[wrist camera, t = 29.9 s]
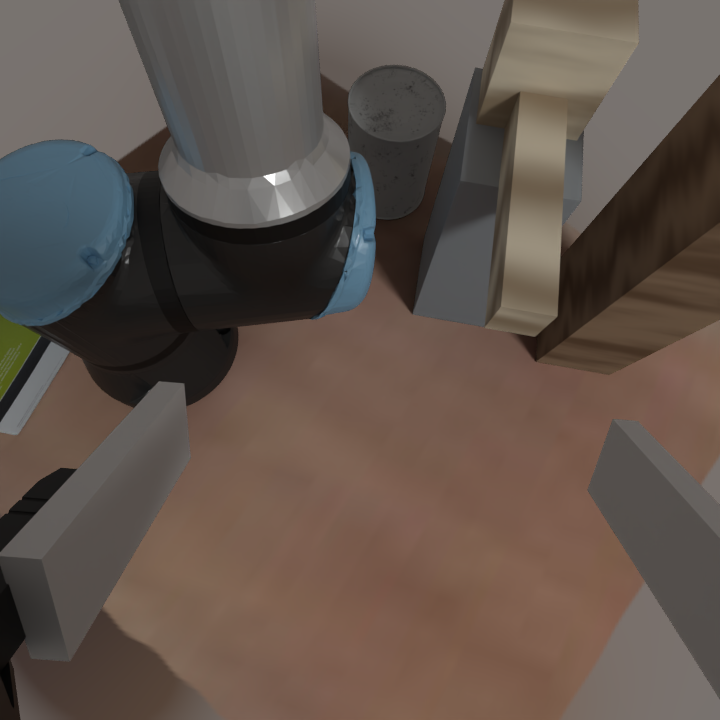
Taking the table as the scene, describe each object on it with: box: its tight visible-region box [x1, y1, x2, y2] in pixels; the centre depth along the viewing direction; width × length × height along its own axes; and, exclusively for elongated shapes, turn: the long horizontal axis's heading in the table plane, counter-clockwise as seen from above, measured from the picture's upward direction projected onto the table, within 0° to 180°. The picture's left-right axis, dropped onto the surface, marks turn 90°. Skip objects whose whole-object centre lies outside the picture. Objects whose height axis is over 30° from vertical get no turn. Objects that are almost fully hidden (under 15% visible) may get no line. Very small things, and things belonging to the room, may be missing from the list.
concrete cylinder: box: [348, 65, 446, 220], centre depth 51 cm, size 10×10×12 cm
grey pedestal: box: [413, 68, 584, 327], centre depth 42 cm, size 10×8×22 cm
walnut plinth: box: [536, 75, 720, 375], centre depth 36 cm, size 10×8×32 cm
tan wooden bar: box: [476, 0, 639, 337], centre depth 27 cm, size 20×7×7 cm, turn 170°
